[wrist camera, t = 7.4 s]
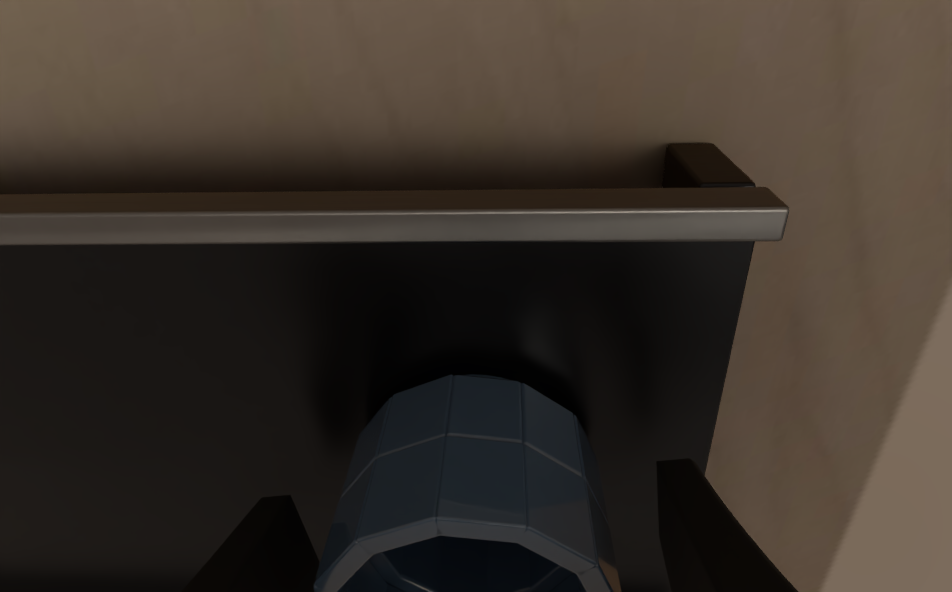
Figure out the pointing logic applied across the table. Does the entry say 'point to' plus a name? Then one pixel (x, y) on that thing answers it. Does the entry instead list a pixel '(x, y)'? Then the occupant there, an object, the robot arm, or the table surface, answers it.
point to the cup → (470, 497)
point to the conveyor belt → (342, 349)
